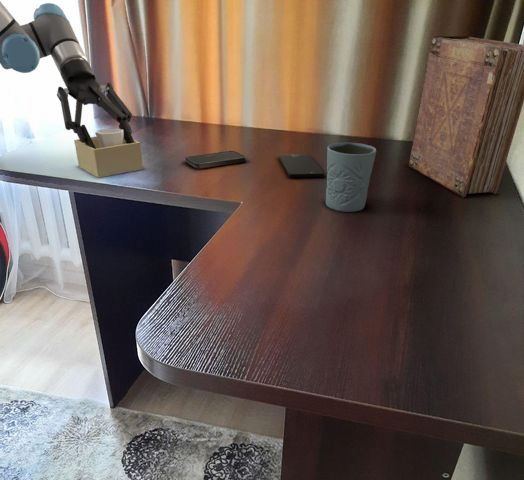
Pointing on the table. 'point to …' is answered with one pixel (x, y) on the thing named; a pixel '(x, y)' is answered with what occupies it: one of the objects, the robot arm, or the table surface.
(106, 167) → the tan open box
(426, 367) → the table surface
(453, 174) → the book
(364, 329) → the table surface
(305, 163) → the cell phone
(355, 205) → the grey embossed tumbler
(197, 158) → the phone
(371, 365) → the table surface
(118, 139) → the cup
